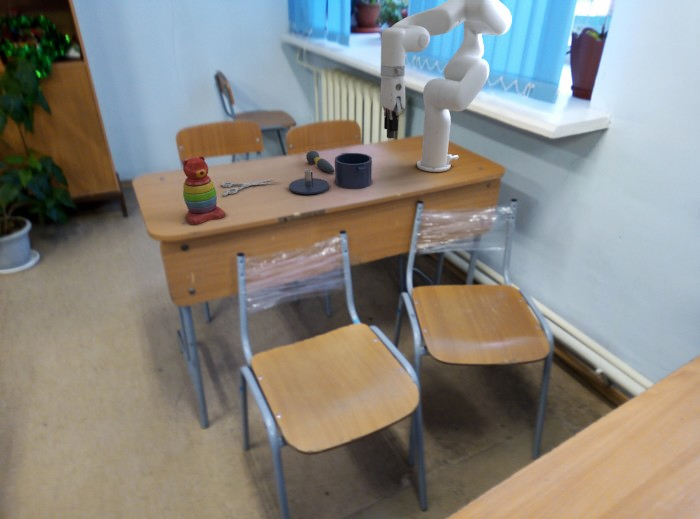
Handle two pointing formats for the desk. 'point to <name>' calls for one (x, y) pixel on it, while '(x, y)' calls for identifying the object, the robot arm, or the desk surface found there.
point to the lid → (308, 184)
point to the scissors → (243, 185)
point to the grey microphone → (319, 161)
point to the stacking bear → (199, 192)
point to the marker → (389, 134)
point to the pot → (353, 170)
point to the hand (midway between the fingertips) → (390, 129)
